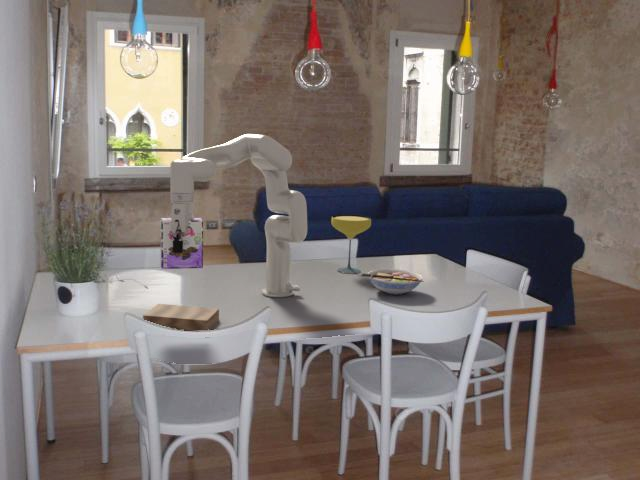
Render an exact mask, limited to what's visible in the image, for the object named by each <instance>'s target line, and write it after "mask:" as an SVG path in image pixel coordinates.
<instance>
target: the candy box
mask: <svg viewBox="0 0 640 480" xmlns="http://www.w3.org/2000/svg"><path fill="white" fill-rule="evenodd" d="M171 218H172V217H167V218H166V217H165V218H164V217H161V218H160V269H161V270H170V269H171V270H172V269H173V270H179V269H180V270H181V269H203V268H204V220H203V218H201V217H194V218H192V219H190V220H189V221H188V232H187V233H184V232H183V236H182V241H183V252H182V253H174V252H173V234H172V227H171ZM177 231H181V230H179V229H178V230H177ZM179 237H180V234H179Z"/></svg>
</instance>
